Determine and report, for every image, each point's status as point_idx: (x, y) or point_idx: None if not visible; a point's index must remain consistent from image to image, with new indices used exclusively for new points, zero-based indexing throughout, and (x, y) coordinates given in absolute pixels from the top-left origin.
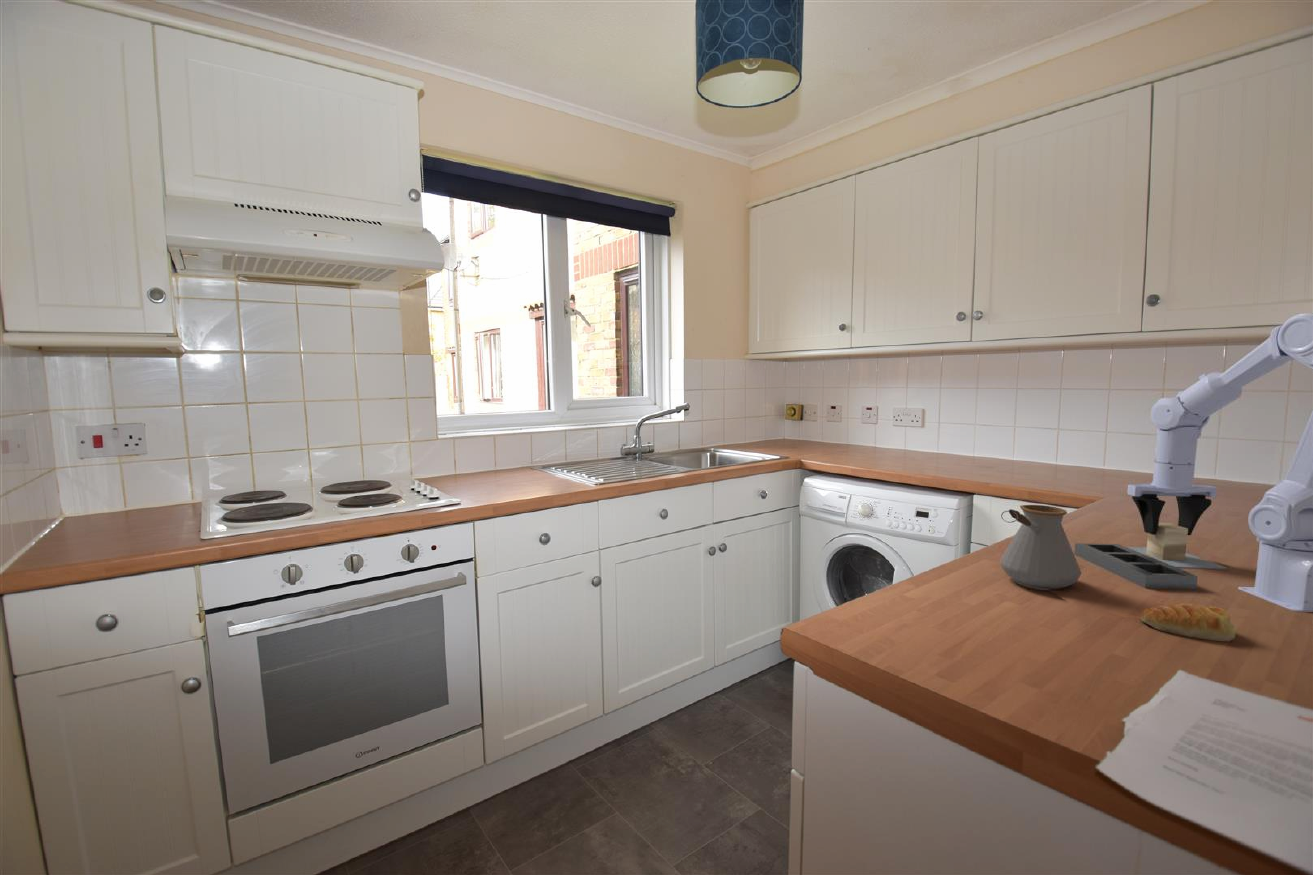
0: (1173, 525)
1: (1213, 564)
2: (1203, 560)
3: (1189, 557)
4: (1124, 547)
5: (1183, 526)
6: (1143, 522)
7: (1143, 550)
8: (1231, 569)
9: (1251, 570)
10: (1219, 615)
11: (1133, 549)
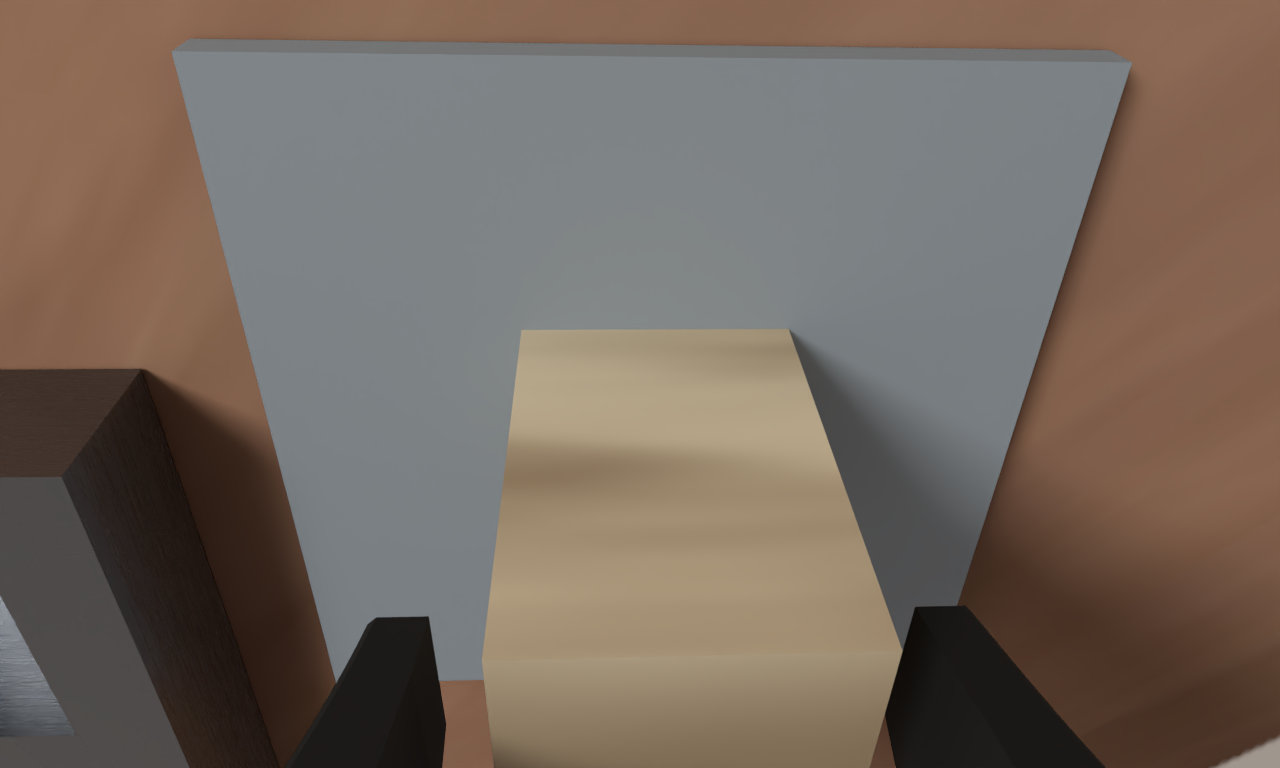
0: (804, 752)
1: (911, 612)
2: (945, 523)
3: (902, 446)
4: (82, 594)
5: (941, 758)
6: (308, 751)
7: (574, 216)
8: (1019, 608)
9: (1162, 616)
10: None
11: (458, 181)
